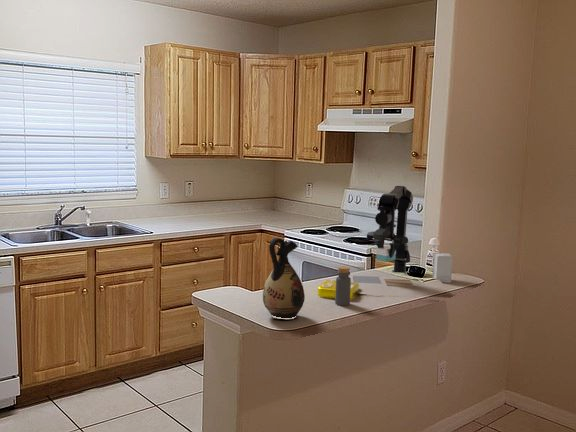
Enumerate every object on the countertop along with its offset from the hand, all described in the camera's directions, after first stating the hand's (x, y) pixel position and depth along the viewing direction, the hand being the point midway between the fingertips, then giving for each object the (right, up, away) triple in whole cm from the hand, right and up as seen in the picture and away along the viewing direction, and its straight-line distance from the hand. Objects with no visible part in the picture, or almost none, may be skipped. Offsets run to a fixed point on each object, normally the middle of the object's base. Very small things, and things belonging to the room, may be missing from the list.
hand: (386, 256), depth 266 cm
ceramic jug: (-47, -19, -49) cm, 70 cm away
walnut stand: (+6, -13, 0) cm, 15 cm away
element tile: (-23, -16, -16) cm, 32 cm away
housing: (0, -2, 0) cm, 2 cm away
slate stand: (-8, -12, +5) cm, 15 cm away
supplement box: (+28, -12, +12) cm, 33 cm away
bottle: (-22, -17, -30) cm, 41 cm away
